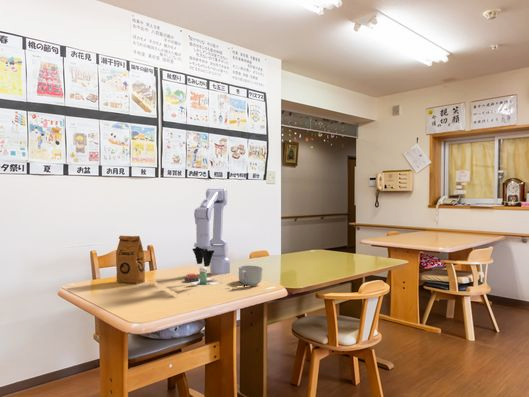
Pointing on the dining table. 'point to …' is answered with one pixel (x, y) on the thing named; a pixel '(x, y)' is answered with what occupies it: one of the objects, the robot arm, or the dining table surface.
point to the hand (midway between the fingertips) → (203, 265)
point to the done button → (191, 276)
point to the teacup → (250, 275)
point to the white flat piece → (197, 281)
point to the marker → (203, 275)
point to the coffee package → (130, 260)
